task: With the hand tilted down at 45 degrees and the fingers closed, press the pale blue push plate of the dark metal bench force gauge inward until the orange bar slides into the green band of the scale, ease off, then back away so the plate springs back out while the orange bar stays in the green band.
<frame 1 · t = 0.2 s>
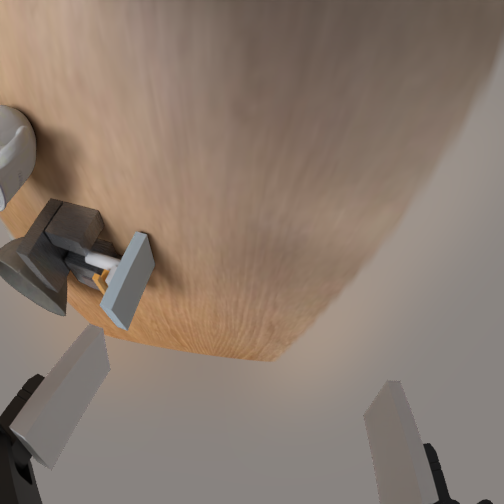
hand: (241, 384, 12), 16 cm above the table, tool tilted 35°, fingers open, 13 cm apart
bowl: (49, 244, 45), on the table
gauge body: (113, 236, 36), on the table
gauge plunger: (108, 274, 33), point 5 cm above the table, slide at 0.0 cm
teacup: (26, 126, 22), on the table
orange bar: (111, 291, 35), point 6 cm above the table, slide at 0.0 cm
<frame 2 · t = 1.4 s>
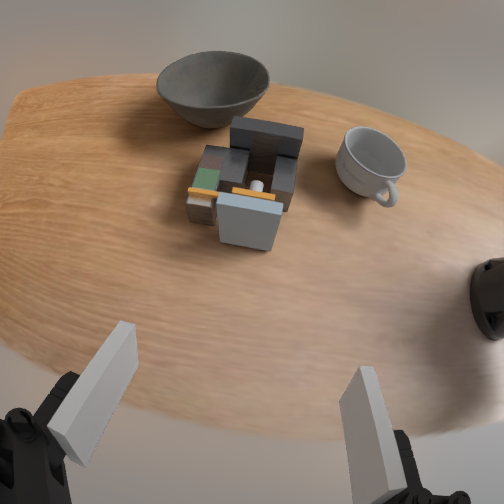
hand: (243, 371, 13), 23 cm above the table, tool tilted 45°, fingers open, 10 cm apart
bowl: (215, 117, 50), on the table
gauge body: (252, 211, 43), on the table
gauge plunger: (252, 202, 37), point 6 cm above the table, slide at 0.0 cm
teacup: (361, 187, 46), on the table
orange bar: (230, 194, 36), point 6 cm above the table, slide at 0.0 cm
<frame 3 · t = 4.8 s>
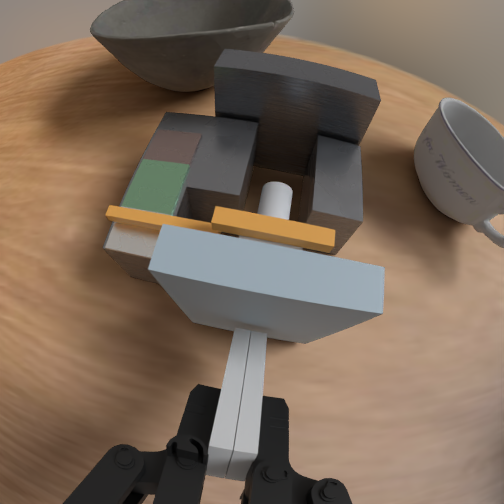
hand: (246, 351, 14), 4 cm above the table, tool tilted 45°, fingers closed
bowl: (196, 78, 27), on the table
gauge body: (263, 254, 20), on the table
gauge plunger: (270, 240, 14), point 5 cm above the table, slide at 0.5 cm, touching gripper, orange bar
teacup: (448, 204, 23), on the table
orange bar: (208, 225, 13), point 6 cm above the table, slide at 0.2 cm, touching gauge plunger
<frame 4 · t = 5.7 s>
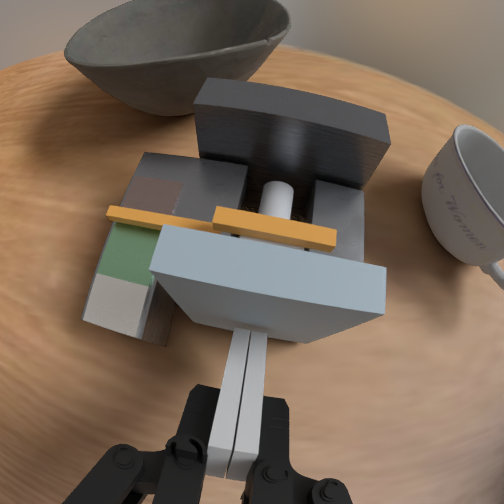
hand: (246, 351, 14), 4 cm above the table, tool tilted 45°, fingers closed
bowl: (185, 97, 26), on the table
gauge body: (254, 310, 18), on the table
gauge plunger: (271, 240, 14), point 5 cm above the table, slide at 4.4 cm, touching gripper, orange bar
teacup: (455, 239, 22), on the table
orange bar: (209, 225, 13), point 6 cm above the table, slide at 4.1 cm, touching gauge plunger
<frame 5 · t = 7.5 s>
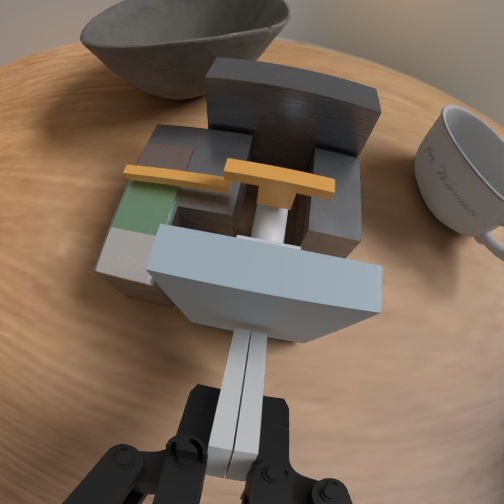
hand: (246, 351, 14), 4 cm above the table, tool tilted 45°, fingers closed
bowl: (191, 84, 27), on the table
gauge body: (259, 271, 19), on the table
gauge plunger: (268, 239, 14), point 6 cm above the table, slide at 1.8 cm, touching gripper
teacup: (449, 214, 23), on the table
orange bar: (220, 177, 14), point 6 cm above the table, slide at 4.2 cm
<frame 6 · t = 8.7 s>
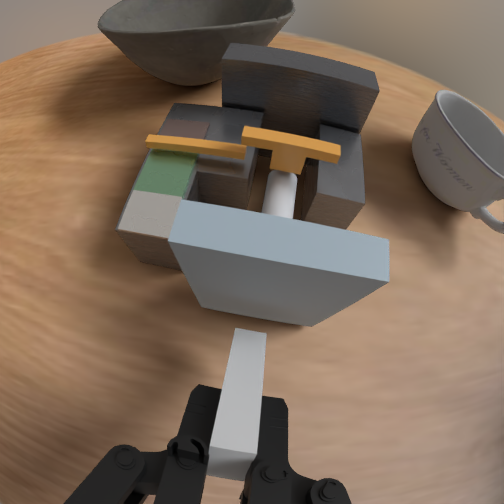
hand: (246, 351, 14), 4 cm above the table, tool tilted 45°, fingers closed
bowl: (200, 73, 28), on the table
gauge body: (269, 238, 20), on the table
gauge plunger: (277, 223, 15), point 5 cm above the table, slide at 0.3 cm
teacup: (446, 192, 24), on the table
orange bar: (236, 144, 15), point 6 cm above the table, slide at 4.2 cm
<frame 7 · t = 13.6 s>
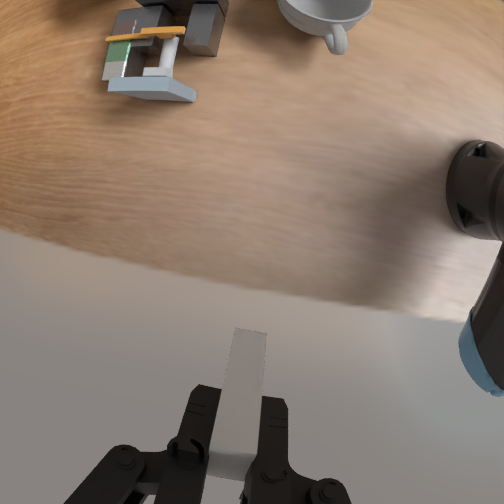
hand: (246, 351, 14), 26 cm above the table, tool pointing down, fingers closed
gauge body: (178, 61, 31), on the table
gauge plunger: (161, 64, 27), point 5 cm above the table, slide at 0.3 cm
teacup: (318, 20, 28), on the table
orange bar: (142, 34, 25), point 6 cm above the table, slide at 4.2 cm
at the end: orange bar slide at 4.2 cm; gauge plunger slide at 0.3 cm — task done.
